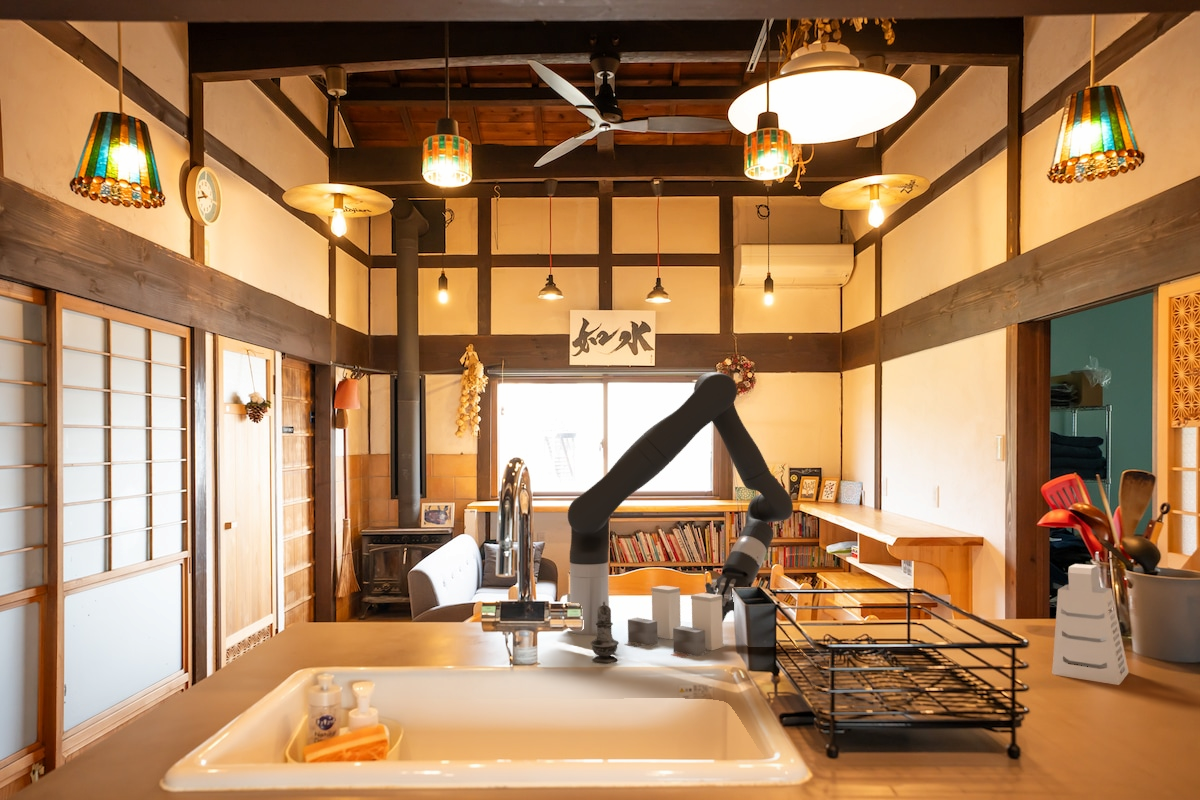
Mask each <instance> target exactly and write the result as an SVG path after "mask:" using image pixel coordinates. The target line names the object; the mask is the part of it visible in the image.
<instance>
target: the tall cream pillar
mask: <svg viewBox="0 0 1200 800" xmlns="http://www.w3.org/2000/svg"><path fill="white" fill-rule="evenodd" d="M650 590H651V591H650V592H651V606H652V607H651V614H652V615H651V616H652V617H651V620H653V621H657V636H658V638H662V639H666V640H671V639H672V640H673V628H676V627H680V626H682V625H681V623H682V622H681V592H682V591H681V587H677V586H672V585H671V586H669V585H658V586H653V587H651V588H650Z"/></svg>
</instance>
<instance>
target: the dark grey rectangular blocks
mask: <svg viewBox="0 0 1200 800" xmlns="http://www.w3.org/2000/svg"><path fill="white" fill-rule="evenodd" d="M658 638H659V637H658V636H657V621H653V620H652V619H646V618H642V617H634V618H628V619H627V641H628V643H624V645H625V646H629V647H632V648H635V647H640V646H642V645H643V646H653V645H657V644H658ZM672 640H673V641H672V642H673V644H672V645H673V648H672V649H673V653H671V654H670V656H673V657H674V656H675V657H677V658H678V657H679V658H685V657H689V656H693V657H699V656H702V655H706V649H705V630H702V629H696V628H692V626H691V627H690V626H685V625H681V626H680V627H676V628H673V638H672ZM674 652H675V653H674Z"/></svg>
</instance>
